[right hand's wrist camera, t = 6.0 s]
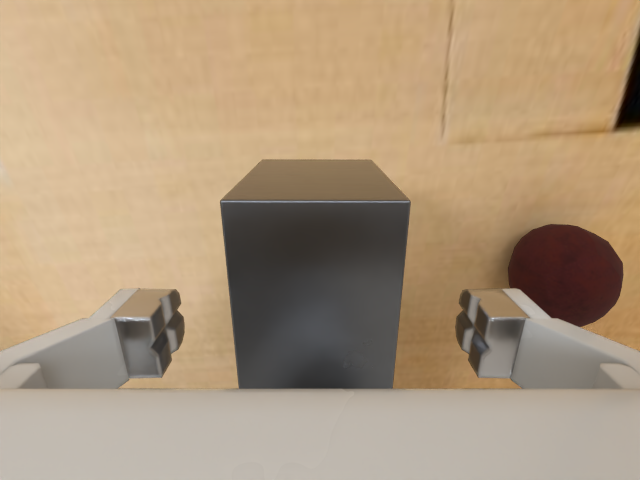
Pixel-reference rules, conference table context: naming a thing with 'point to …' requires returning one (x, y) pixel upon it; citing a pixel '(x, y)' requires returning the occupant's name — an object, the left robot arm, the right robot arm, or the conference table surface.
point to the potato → (567, 273)
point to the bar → (315, 274)
